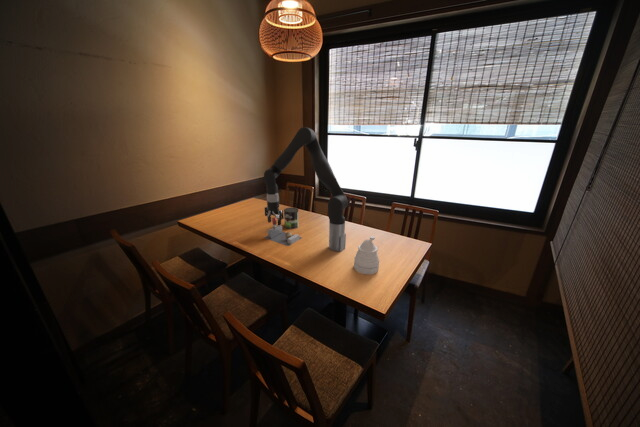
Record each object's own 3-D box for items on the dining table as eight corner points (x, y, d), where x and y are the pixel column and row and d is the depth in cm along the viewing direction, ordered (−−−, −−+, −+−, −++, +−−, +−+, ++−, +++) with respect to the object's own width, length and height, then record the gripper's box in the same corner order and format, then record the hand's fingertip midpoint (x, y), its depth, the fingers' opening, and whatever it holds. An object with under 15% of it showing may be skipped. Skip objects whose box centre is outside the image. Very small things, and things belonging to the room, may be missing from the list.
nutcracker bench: (302, 239, 163) (302, 233, 161) (288, 248, 152) (288, 241, 150) (278, 232, 173) (278, 226, 172) (263, 239, 162) (263, 233, 161)
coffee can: (293, 232, 174) (293, 213, 169) (281, 229, 178) (280, 210, 173) (301, 226, 182) (301, 208, 178) (290, 224, 187) (289, 206, 182)
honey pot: (375, 260, 138) (377, 231, 132) (381, 274, 126) (384, 242, 120) (352, 261, 138) (353, 231, 132) (356, 274, 126) (358, 243, 120)
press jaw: (282, 232, 169) (281, 216, 165) (271, 238, 160) (269, 221, 156) (279, 231, 170) (278, 215, 166) (267, 237, 162) (266, 220, 158)
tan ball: (293, 237, 159) (293, 231, 158) (289, 239, 156) (288, 234, 155) (288, 236, 162) (288, 230, 160) (284, 238, 158) (284, 232, 157)
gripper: (285, 200, 156) (286, 224, 162) (269, 196, 164) (270, 219, 169) (277, 203, 150) (278, 228, 156) (260, 199, 158) (262, 223, 163)
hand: (274, 223), depth 163 cm, fingers open, 8 cm apart
